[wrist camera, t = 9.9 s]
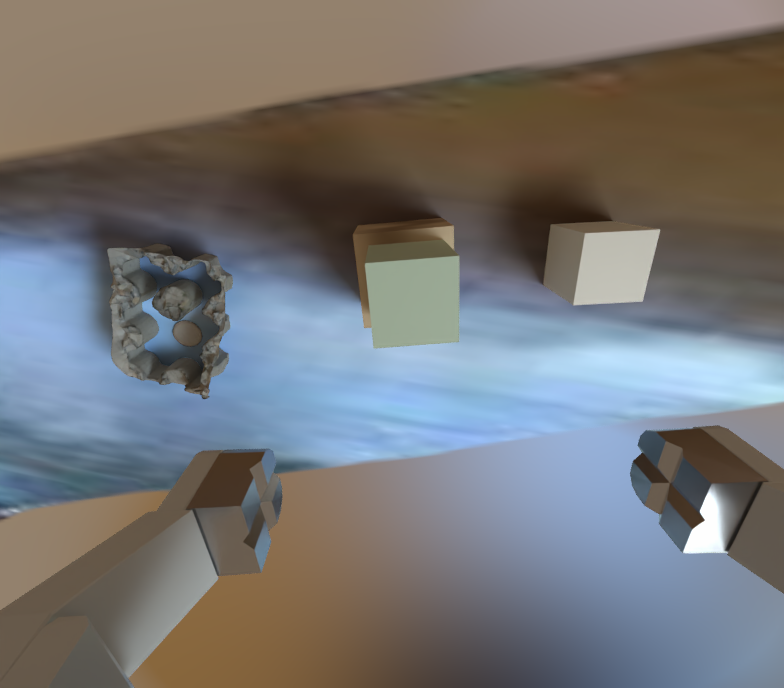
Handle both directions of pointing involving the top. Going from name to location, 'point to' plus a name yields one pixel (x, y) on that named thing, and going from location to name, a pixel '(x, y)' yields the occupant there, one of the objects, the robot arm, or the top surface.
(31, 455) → the top surface
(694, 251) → the top surface
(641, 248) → the cream cube
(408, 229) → the oak block
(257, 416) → the top surface
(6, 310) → the top surface
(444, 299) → the green cube
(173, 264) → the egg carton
